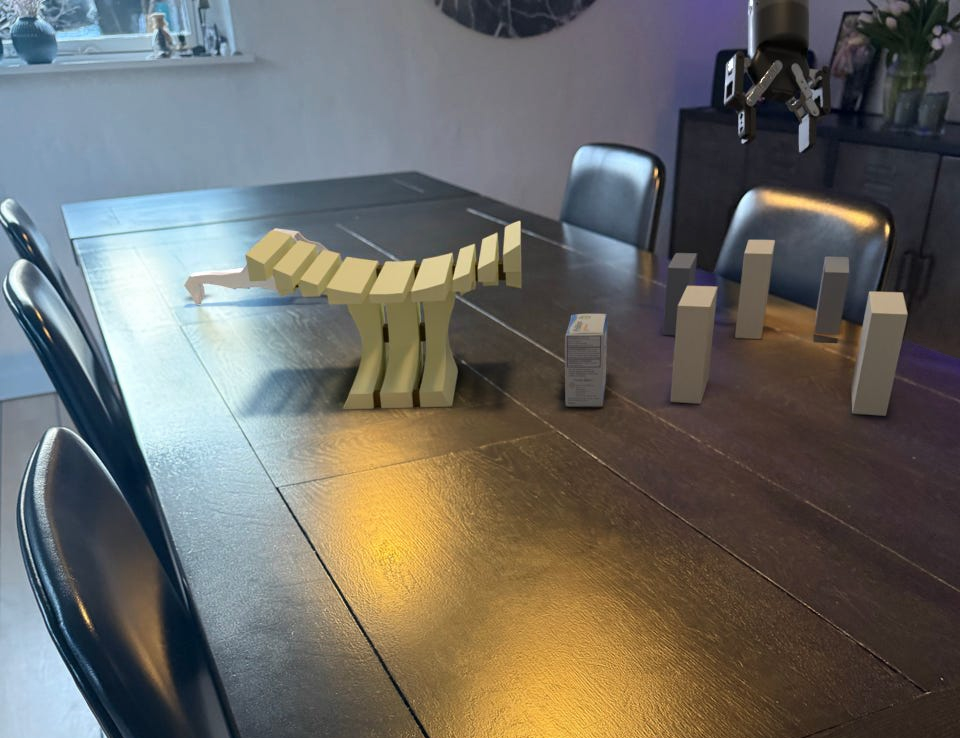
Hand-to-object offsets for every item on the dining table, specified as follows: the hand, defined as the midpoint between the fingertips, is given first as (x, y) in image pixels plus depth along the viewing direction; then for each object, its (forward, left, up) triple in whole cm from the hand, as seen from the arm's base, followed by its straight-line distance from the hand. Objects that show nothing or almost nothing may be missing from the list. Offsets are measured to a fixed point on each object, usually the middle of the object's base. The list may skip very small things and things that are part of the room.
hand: (777, 146), depth 120 cm
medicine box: (+38, -2, -22) cm, 44 cm away
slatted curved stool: (+48, -23, -22) cm, 58 cm away
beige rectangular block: (+4, +1, -22) cm, 23 cm away
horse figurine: (+33, -70, -22) cm, 80 cm away
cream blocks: (+25, +16, -22) cm, 37 cm away
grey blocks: (+4, +1, -22) cm, 23 cm away
